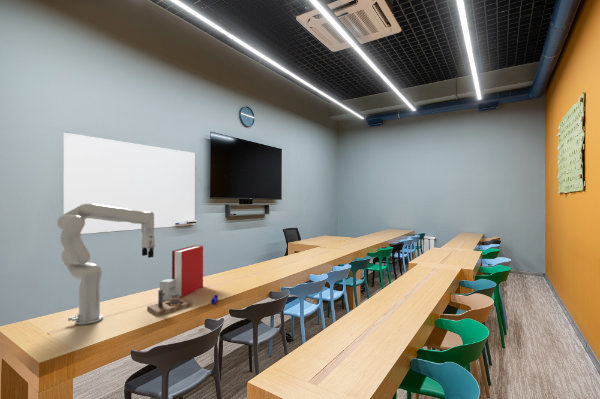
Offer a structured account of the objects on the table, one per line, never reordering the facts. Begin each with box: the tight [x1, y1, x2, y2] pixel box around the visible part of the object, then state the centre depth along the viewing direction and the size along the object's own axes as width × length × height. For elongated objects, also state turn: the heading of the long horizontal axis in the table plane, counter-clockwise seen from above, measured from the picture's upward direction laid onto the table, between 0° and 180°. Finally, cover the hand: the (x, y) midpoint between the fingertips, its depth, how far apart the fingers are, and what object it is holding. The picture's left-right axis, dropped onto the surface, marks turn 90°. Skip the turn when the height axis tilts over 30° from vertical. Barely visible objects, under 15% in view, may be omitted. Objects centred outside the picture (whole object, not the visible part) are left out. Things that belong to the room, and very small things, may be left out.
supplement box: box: [159, 278, 176, 302], centre depth 204 cm, size 7×7×13 cm
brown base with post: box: [146, 289, 193, 317], centre depth 186 cm, size 22×14×12 cm, turn 138°
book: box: [171, 244, 204, 298], centre depth 221 cm, size 27×8×32 cm, turn 166°
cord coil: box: [170, 293, 180, 307], centre depth 188 cm, size 5×5×8 cm
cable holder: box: [210, 294, 219, 305], centre depth 197 cm, size 8×4×4 cm, turn 1°
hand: (147, 256), depth 197 cm, fingers open, 9 cm apart
